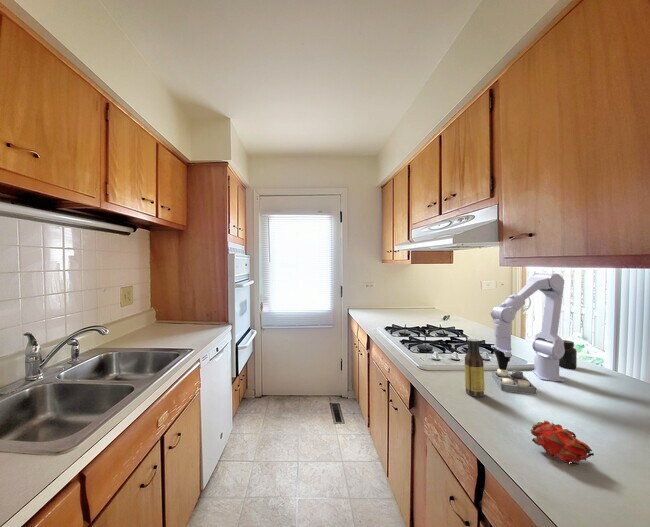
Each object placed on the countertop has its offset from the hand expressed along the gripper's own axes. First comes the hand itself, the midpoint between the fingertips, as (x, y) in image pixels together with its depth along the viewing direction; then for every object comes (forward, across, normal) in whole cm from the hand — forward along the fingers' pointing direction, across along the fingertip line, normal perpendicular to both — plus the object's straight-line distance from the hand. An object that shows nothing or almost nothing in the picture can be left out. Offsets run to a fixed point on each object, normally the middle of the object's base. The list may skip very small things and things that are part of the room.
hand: (502, 369), depth 112 cm
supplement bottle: (+5, -27, +34) cm, 44 cm away
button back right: (+3, 0, 0) cm, 3 cm away
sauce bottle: (+5, +16, -13) cm, 21 cm away
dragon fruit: (+5, +47, 0) cm, 47 cm away
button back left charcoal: (+2, 0, +5) cm, 6 cm away
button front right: (+4, +6, 0) cm, 7 cm away
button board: (+5, +3, +3) cm, 6 cm away
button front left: (+4, +6, +5) cm, 9 cm away
